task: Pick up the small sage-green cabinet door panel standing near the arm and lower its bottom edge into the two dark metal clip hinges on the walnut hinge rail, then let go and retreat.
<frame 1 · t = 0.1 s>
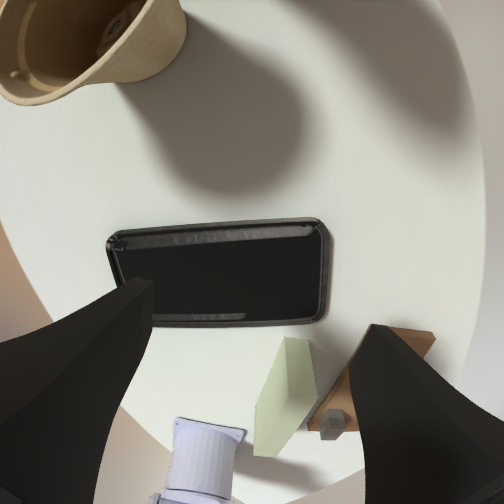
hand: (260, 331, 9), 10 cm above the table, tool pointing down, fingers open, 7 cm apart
door panel: (278, 377, 24), on the table
flower pot: (140, 39, 13), on the table
phone: (216, 273, 20), on the table
hinge rail: (365, 385, 24), on the table
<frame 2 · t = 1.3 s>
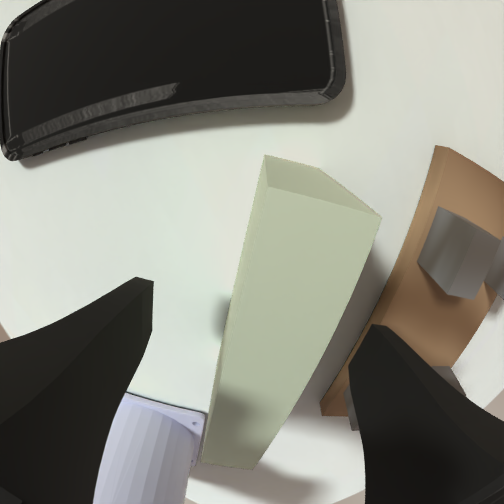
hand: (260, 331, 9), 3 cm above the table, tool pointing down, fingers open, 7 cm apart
door panel: (260, 280, 12), on the table
phone: (137, 38, 8), on the table
hinge rail: (430, 313, 12), on the table
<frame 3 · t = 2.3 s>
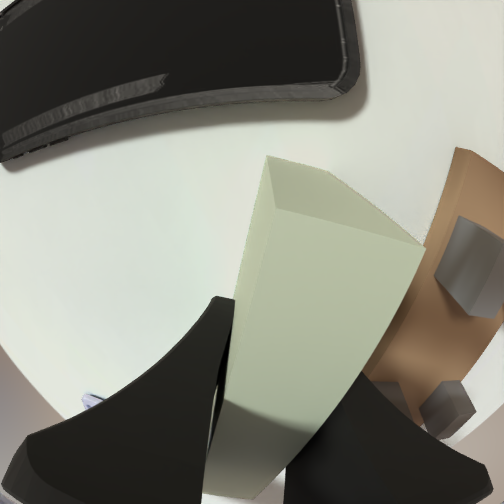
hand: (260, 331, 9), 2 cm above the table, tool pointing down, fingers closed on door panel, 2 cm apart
door panel: (261, 297, 11), on the table, touching gripper
phone: (125, 27, 7), on the table
hinge rail: (442, 327, 11), on the table
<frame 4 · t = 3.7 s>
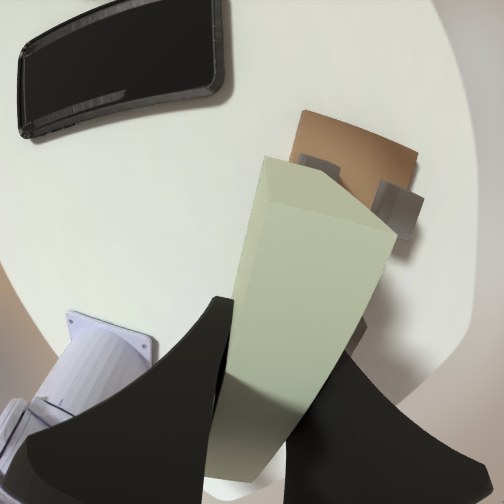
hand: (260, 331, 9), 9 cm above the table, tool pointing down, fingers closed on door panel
door panel: (259, 288, 11), point 6 cm above the table, touching gripper
phone: (106, 60, 13), on the table
hinge rail: (323, 248, 17), on the table
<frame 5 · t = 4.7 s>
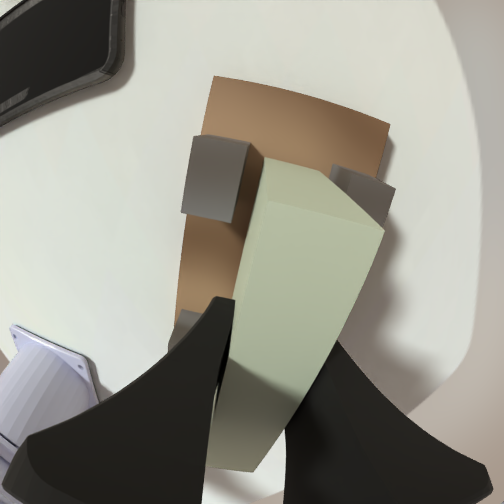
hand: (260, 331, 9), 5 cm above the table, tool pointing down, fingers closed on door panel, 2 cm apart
door panel: (260, 284, 12), point 2 cm above the table, touching gripper
phone: (22, 59, 9), on the table
hinge rail: (261, 262, 13), on the table
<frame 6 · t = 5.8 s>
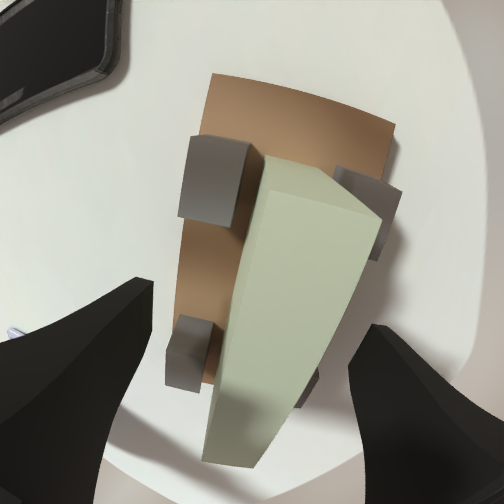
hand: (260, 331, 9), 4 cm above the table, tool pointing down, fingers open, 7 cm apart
door panel: (260, 280, 12), point 1 cm above the table, touching hinge rail
phone: (18, 58, 9), on the table
hinge rail: (261, 266, 13), on the table
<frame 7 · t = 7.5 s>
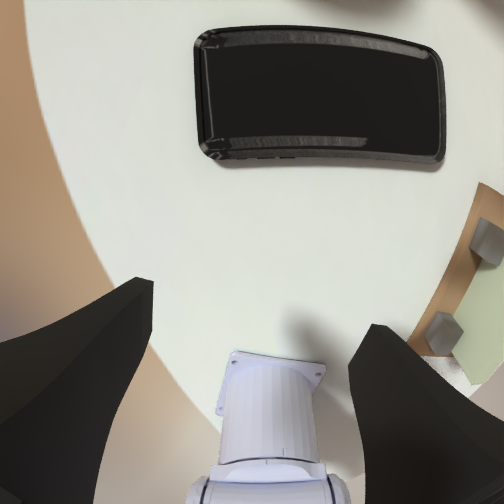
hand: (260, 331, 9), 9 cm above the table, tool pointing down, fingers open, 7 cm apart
door panel: (476, 287, 18), point 1 cm above the table, touching hinge rail
phone: (329, 92, 14), on the table
hinge rail: (470, 280, 18), on the table
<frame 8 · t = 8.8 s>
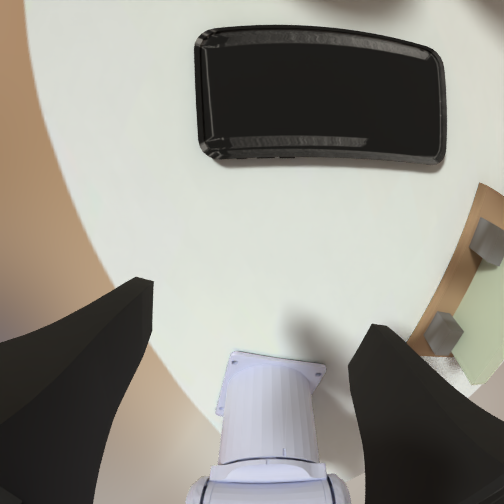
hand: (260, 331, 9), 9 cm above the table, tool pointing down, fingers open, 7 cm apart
door panel: (476, 287, 18), point 1 cm above the table, touching hinge rail
phone: (330, 92, 14), on the table
hinge rail: (470, 280, 18), on the table
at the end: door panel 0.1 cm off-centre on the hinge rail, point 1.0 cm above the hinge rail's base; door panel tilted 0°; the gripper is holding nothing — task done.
